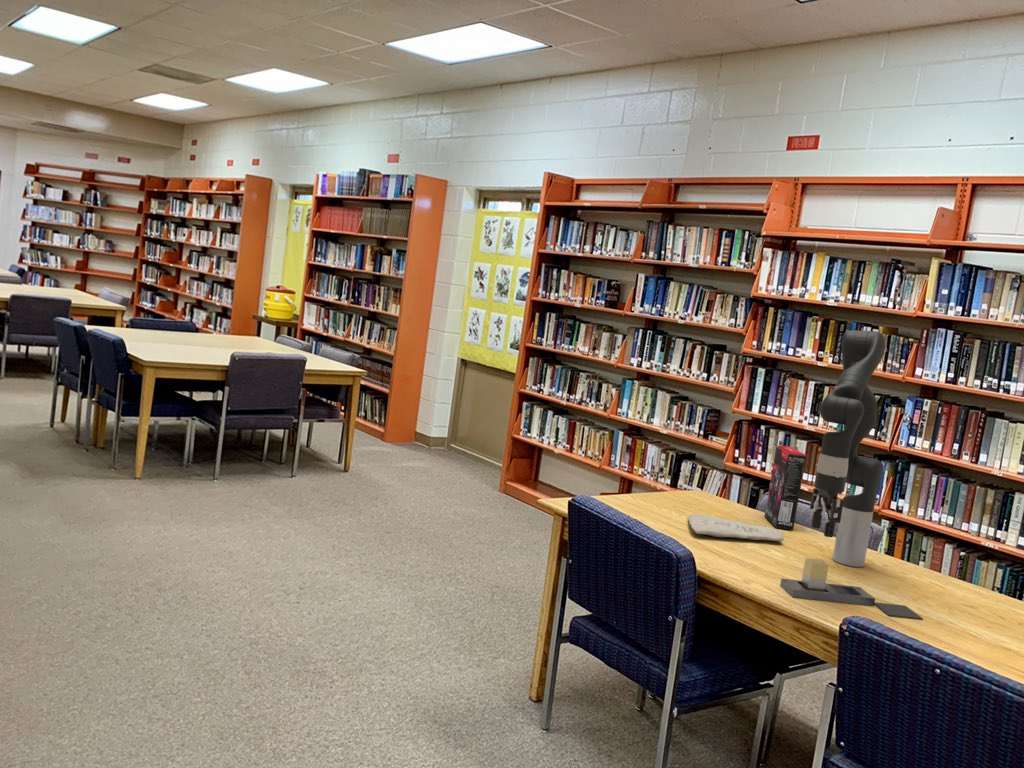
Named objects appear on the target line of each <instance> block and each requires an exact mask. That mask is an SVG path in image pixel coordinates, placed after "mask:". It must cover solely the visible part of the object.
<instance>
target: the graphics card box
mask: <svg viewBox="0 0 1024 768" xmlns="http://www.w3.org/2000/svg"><path fill="white" fill-rule="evenodd" d="M806 457H807V454H805V453H803V452H802V451H800V450H798V449H797V448H795V447H793V446H788V445H777V446H776V447H775V453H774V460H773V463H772V471H771V476H770V482H769V488H768V493H767V498H766V499H767V500H766V505H765V511H764V518H766V519H767V520H768V521H769V522H770V523H771V525H772V526H774V527H775V528H777V529H783V530H784V529H785V530H790V531H794V528H795V522H796V517H797V516H796V515H797V512H798V510H797V509H798V506H799V505H798V504H799V499H800V493H801V487H802V482H803V476H804V471H805V463H806Z"/></svg>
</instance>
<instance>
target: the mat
mask: <svg viewBox="0 0 1024 768" xmlns="http://www.w3.org/2000/svg"><path fill="white" fill-rule="evenodd" d="M874 606H875V607H876V608H877V609H879V610H880V611H881V612H882V613H884V614H885V615H887V616H888V617H893V618H903V619H912V620H919V621H923V620H924V618H923V617H922V616H921V615H919V614H918V613H916V612H915V611H914V610H912V609H911V608H910V607H908V606H907V605H902V604H895V603H893V604H892V603H887V602H886V603H884V602H876V601H875V603H874Z"/></svg>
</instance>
